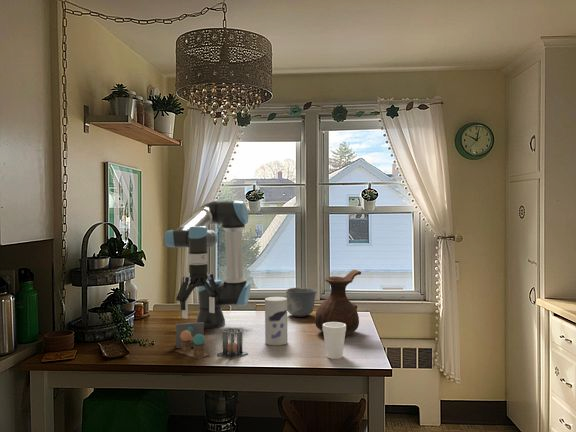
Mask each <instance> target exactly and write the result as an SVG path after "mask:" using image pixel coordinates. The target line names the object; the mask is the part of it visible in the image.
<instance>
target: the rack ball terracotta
mask: <svg viewBox="0 0 576 432" xmlns="http://www.w3.org/2000/svg"><path fill="white" fill-rule="evenodd" d="M180 337H181V339H182V340H183V341H189V340H190V339H191V332H190V331H188V330H185V331H183V332H182V333H181V335H180Z"/></svg>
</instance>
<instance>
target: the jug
mask: <svg viewBox="0 0 576 432" xmlns="http://www.w3.org/2000/svg"><path fill="white" fill-rule="evenodd" d="M360 275H362V272H361V270H357V269H352V270H351V271H349V273H347V274H346V275H345V276H342V277H341V276H333V275H331V276H327V277H326V278H325V279H324V281H325V282H326V283H328V284H329V286H330V289H331V290H330V293H329V296H328V297H327V298H326V299H325V300H323V301H322V302H321V303H320V304H319V306H318V307H317V309H316V312H315V316H314V323H315V326H316V328H317V330H320V331H321V332H322V333H323V324H324V323H327V322H340V323H344V324H346V332H345V337H346V336H349V335H351V334H353V333H354V332H355V331H357V330H358V329H359V324H360V317H359V314H358V311H357V309H358V305H357V304H355V303H353V302H352V301H350V300H349V299H348V296H347V294H346V289H347V286H348V285H349V284H350V283H353V281H354V279H355V277H356V276H360Z"/></svg>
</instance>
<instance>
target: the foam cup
mask: <svg viewBox="0 0 576 432" xmlns="http://www.w3.org/2000/svg"><path fill="white" fill-rule="evenodd" d="M345 332H346V324H344V323H340V322H327V323H324V324H323V332H322V333H323V339H324V346H325V353H326V358H328V359H331V360H334V359H335V360H339V359H342V358H343V356H344V346H345V338H346V336H345Z"/></svg>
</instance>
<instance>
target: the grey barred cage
mask: <svg viewBox="0 0 576 432" xmlns="http://www.w3.org/2000/svg"><path fill="white" fill-rule="evenodd" d="M229 331H231V332H229ZM235 331H236V332H235ZM221 333H222V351H220V352H219V353H217V354H216V355H217V356H220V357H222V358H226V359H229V360H234V359H237V358H241V357H244V356H247V355H249V353H248V352H245V351H243V329H241V328H236V327H235V328H233V327H232V328H225V329H223V330H222V332H221ZM229 335H230V343H231V353H229V352H228V350H227V346H228V344H229ZM235 335H236V344H237V352H236V353H233V342H235Z"/></svg>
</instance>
